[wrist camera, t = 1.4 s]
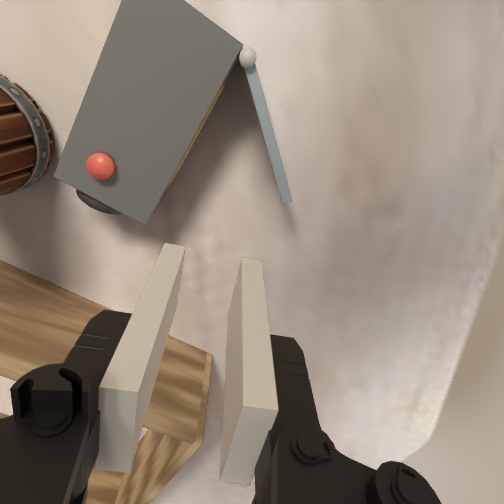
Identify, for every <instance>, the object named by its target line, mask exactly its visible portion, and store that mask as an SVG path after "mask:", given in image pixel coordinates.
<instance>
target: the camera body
mask: <svg viewBox="0 0 504 504" xmlns="http://www.w3.org/2000/svg"><path fill="white" fill-rule="evenodd" d="M242 50H243V44H242V43H241V42H239V41H238V40H237V39H235V38H234V37H233V36H231V35H230V34H229V33H227V32H226V31H225V30H223V29H222V28H220V27H219V26H218V25H216V24H215V23H214V22H212V21H211V20H210V19H208V18H207V17H206V16H204V15H203V14H202V13H200V12H199V11H198V10H196V9H195V8H194V7H192V6H191V5H190V4H188V3H187V2H186V1H184V0H122V1H121V4H120V6H119V9H118V11H117V14H116V17H115V19H114V22H113V24H112V27H111V29H110V32H109V35H108V37H107V40H106V42H105V45H104V47H103V50H102V53H101V55H100V58H99V60H98V63H97V65H96V68H95V71H94V73H93V76H92V78H91V81H90V83H89V86H88V89H87V91H86V94H85V96H84V99H83V101H82V104H81V107H80V109H79V112H78V114H77V117H76V119H75V122H74V125H73V127H72V130H71V132H70V135H69V137H68V140H67V143H66V145H65V148H64V150H63V153H62V155H61V158H60V161H59V163H58V166H57V168H56V171H55V173H54V176H53V177H55V178H57V179H59V180H61V181H63V182H65V183H66V184H68V185H70V186H72V187H74V188H76V189H77V190H76V193H77V195H78V197H79V198H80V199H81V200H82V201H83V202H84V203H86V204H87V205H89V206H90V207H92V208H94V209H96V210H98V211H101V212H104V213H108V214H122V213H123V214H125V215H127V216H129V217H131V218H132V219H134V220H136V221H138V222H140V223H142V224H144V225H146V223H147V222H148V220H149V219H150V217H151V216H152V214H153V213H154V211H155V209H156V208H157V206H158V205H159V203H160V201H161V200H162V198H163V196H164V194H165V192H166V190H167V189H168V187H169V185H170V184H171V182H172V181H173V179H174V178H175V176H176V175H177V173H178V171H179V169H180V167H181V166H182V164H183V162H184V160H185V158H186V156H187V155H188V153H189V151H190V149H191V147H192V145H193V144H194V142H195V140H196V138H197V136H198V134H199V133H200V131H201V129H202V127H203V125H204V123H205V122H206V120H207V118H208V116H209V114H210V112H211V111H212V109H213V107H214V105H215V103H216V101H217V100H218V98H219V96H220V94H221V92H222V90H223V89H224V87H225V82H226V80H227V78H228V76H229V75H230V73H231V71H232V69H233V67H234V65H235V64H236V62H237V60H238V58H239V55H240V52H241V51H242Z"/></svg>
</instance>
